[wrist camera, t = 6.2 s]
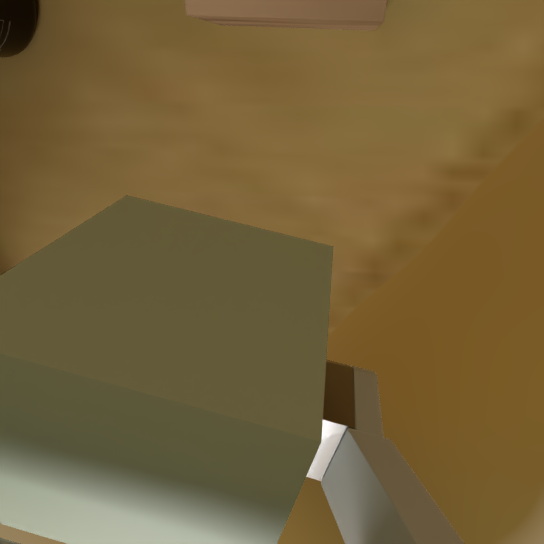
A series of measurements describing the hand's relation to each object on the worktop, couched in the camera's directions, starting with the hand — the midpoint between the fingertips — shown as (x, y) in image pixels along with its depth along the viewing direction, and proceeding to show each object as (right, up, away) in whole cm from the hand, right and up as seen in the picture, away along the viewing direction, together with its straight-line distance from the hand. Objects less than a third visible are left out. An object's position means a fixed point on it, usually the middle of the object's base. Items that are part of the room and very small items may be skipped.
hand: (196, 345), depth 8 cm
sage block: (0, +1, +1) cm, 2 cm away
